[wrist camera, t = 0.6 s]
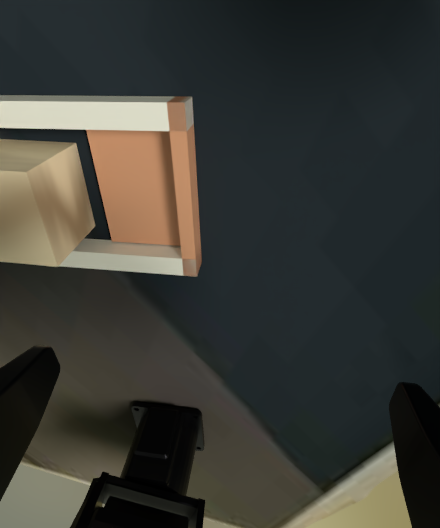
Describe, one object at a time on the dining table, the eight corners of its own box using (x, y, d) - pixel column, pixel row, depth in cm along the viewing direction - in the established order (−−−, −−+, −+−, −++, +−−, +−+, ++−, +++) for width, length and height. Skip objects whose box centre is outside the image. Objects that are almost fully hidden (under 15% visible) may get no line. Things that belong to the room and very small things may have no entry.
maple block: (96, 224, 21) (57, 267, 17) (-7, 216, 22) (-65, 255, 18) (77, 142, 18) (26, 172, 15) (-41, 136, 19) (-118, 163, 15)
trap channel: (201, 262, 21) (196, 276, 20) (-42, 245, 23) (-59, 257, 22) (191, 96, 16) (184, 102, 15) (-122, 94, 18) (-151, 99, 17)
